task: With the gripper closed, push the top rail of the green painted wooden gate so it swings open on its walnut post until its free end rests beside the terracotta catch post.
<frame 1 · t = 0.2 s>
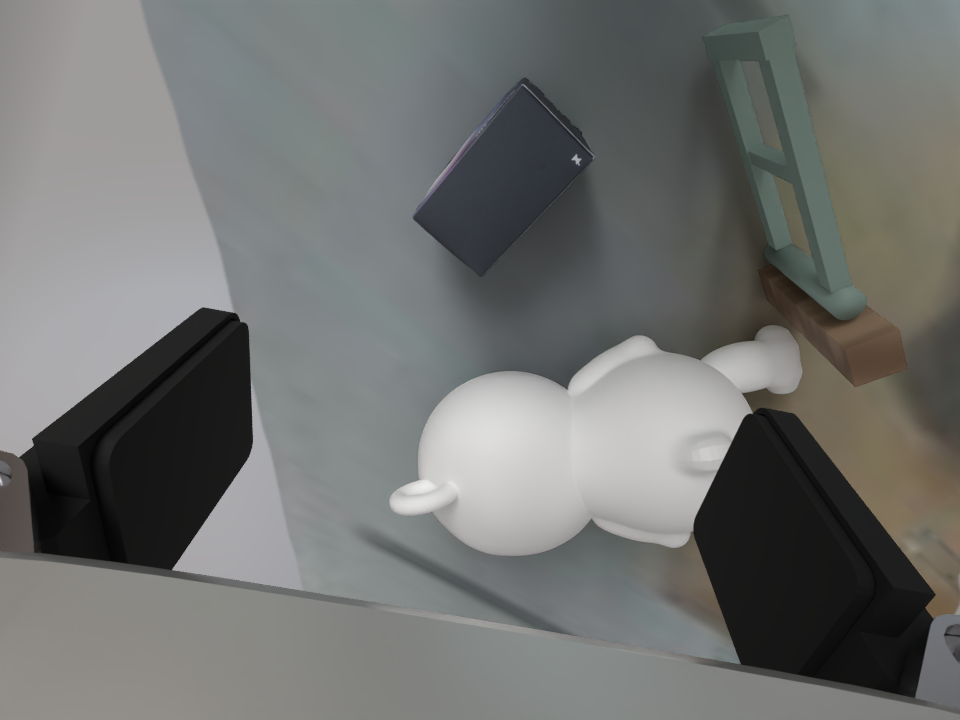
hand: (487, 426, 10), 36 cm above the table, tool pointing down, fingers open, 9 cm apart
teddy bear: (592, 401, 53), on the table
gate post: (781, 277, 46), on the table
gate: (779, 169, 36), point 6 cm above the table, hinge at 0.0°
small box: (505, 159, 43), on the table
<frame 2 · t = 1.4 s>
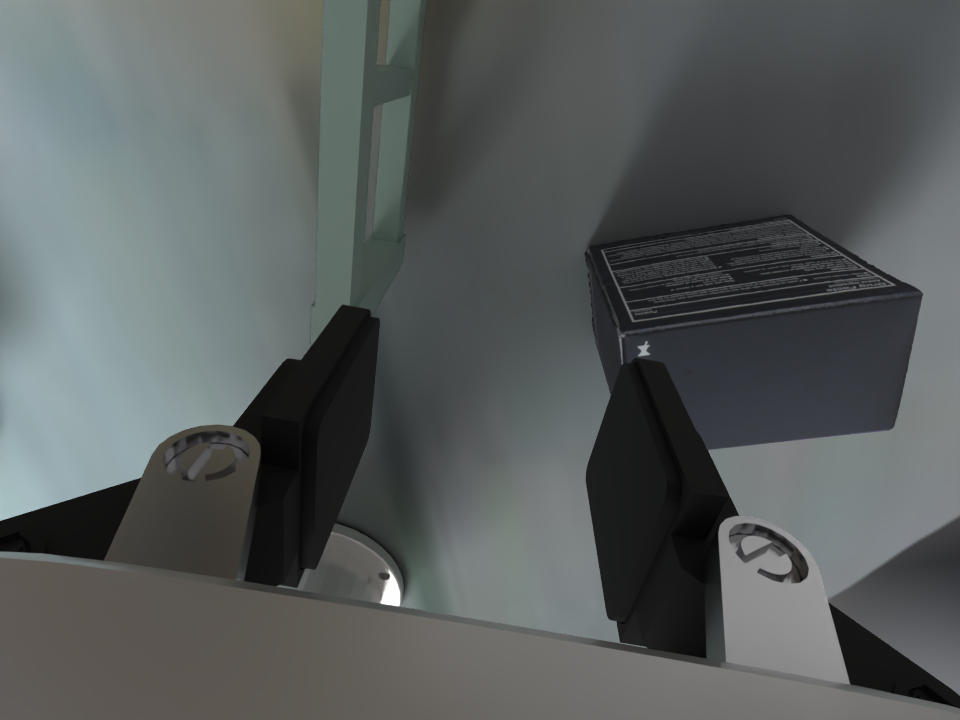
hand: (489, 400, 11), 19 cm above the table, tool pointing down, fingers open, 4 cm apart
gate: (381, 68, 20), point 7 cm above the table, hinge at 0.0°
small box: (686, 285, 30), on the table
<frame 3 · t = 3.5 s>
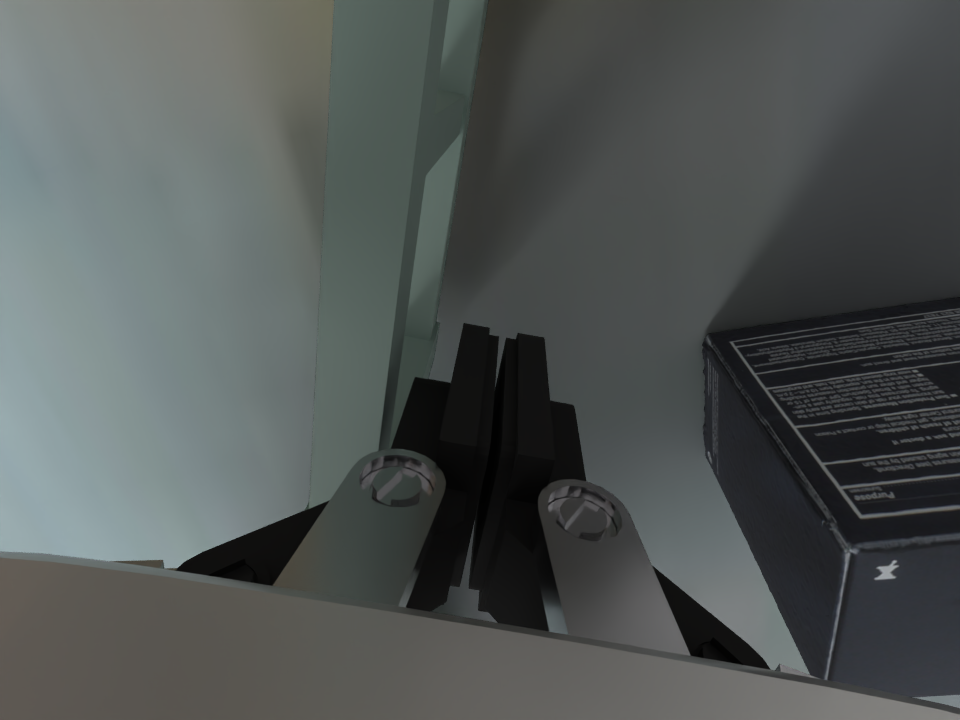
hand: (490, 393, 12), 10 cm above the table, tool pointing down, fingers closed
gate: (428, 99, 12), point 7 cm above the table, hinge at 1.8°, touching gripper
small box: (837, 381, 22), on the table
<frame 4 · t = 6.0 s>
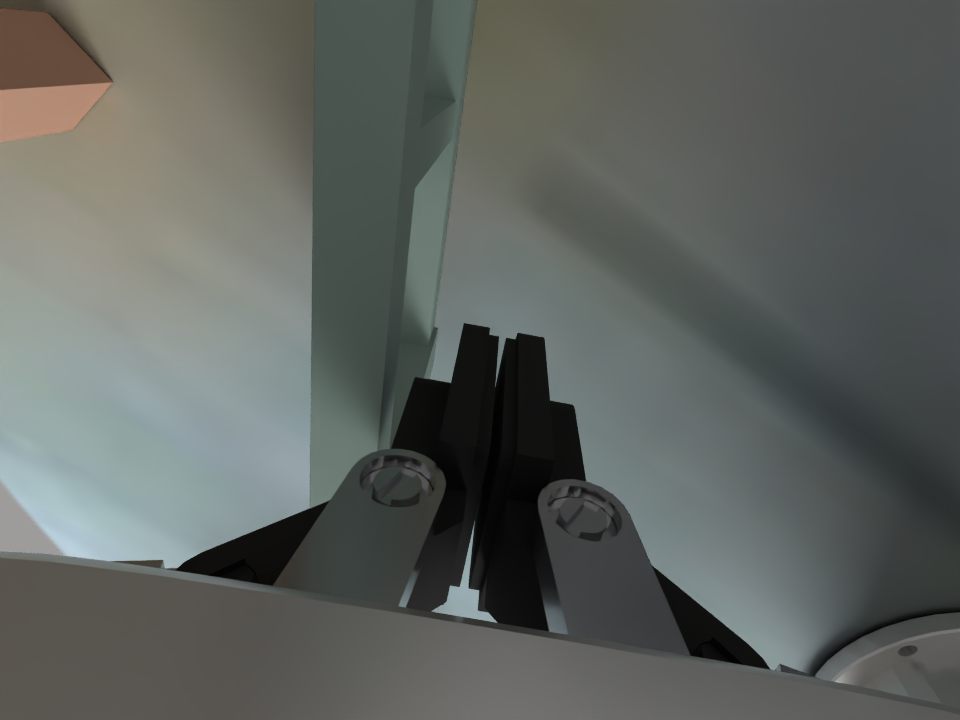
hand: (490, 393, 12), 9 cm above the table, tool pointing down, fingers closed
gate: (417, 109, 12), point 6 cm above the table, hinge at 46.2°, touching gripper
catch post: (60, 74, 18), on the table
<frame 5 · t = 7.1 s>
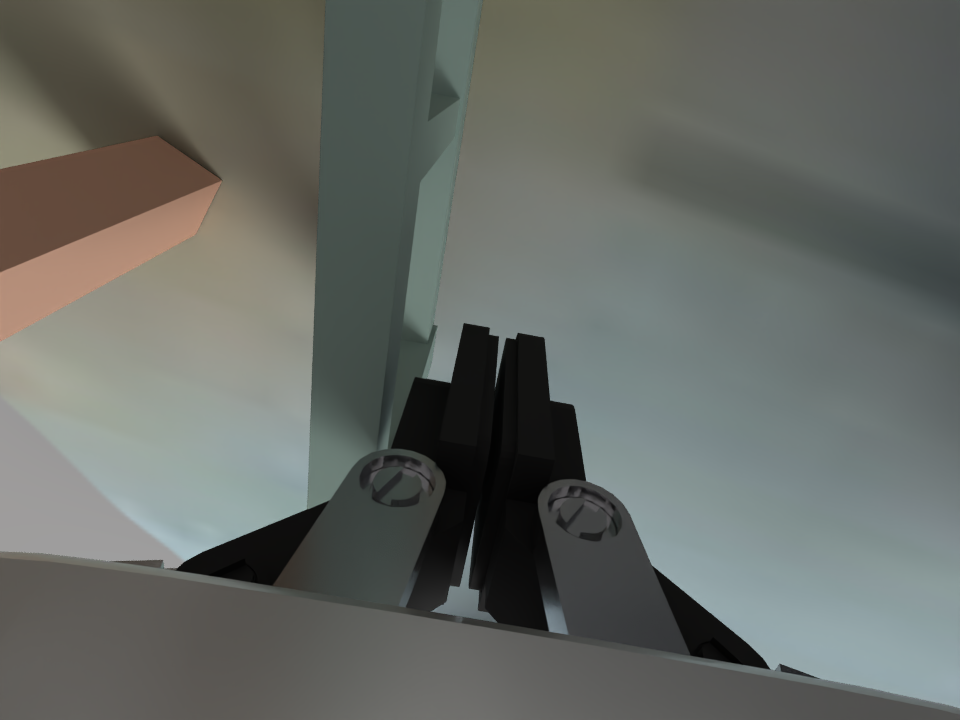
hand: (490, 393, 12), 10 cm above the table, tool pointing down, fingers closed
gate: (422, 104, 12), point 7 cm above the table, hinge at 63.4°, touching gripper
catch post: (177, 187, 19), on the table
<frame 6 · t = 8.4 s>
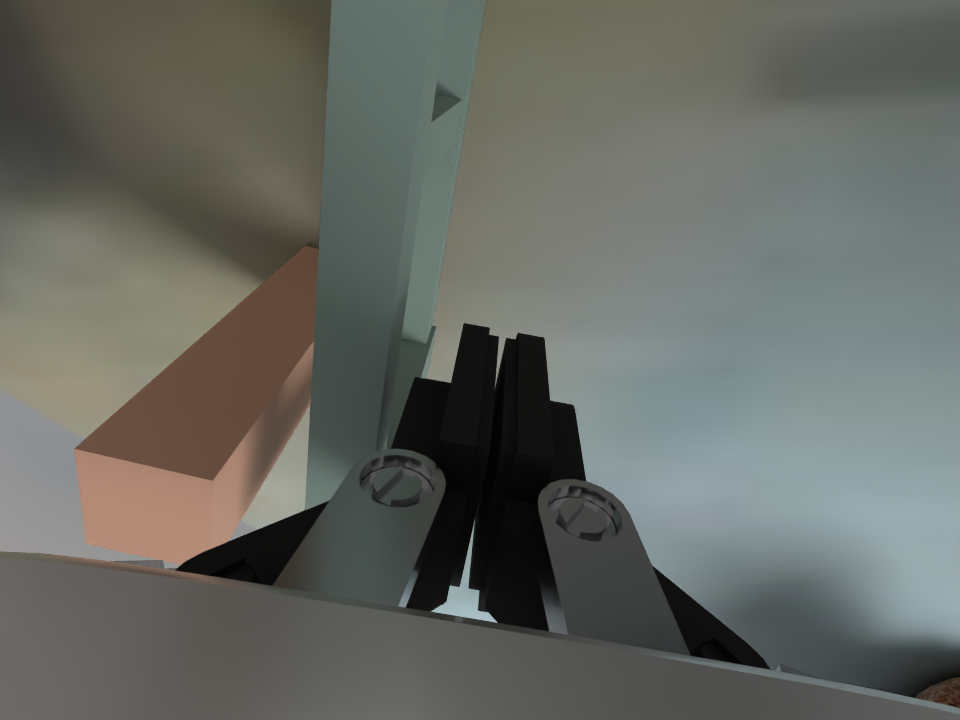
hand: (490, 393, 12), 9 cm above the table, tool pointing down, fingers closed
seed pod: (916, 715, 32), on the table
gate: (424, 105, 12), point 6 cm above the table, hinge at 86.4°, touching gripper
catch post: (334, 283, 21), on the table
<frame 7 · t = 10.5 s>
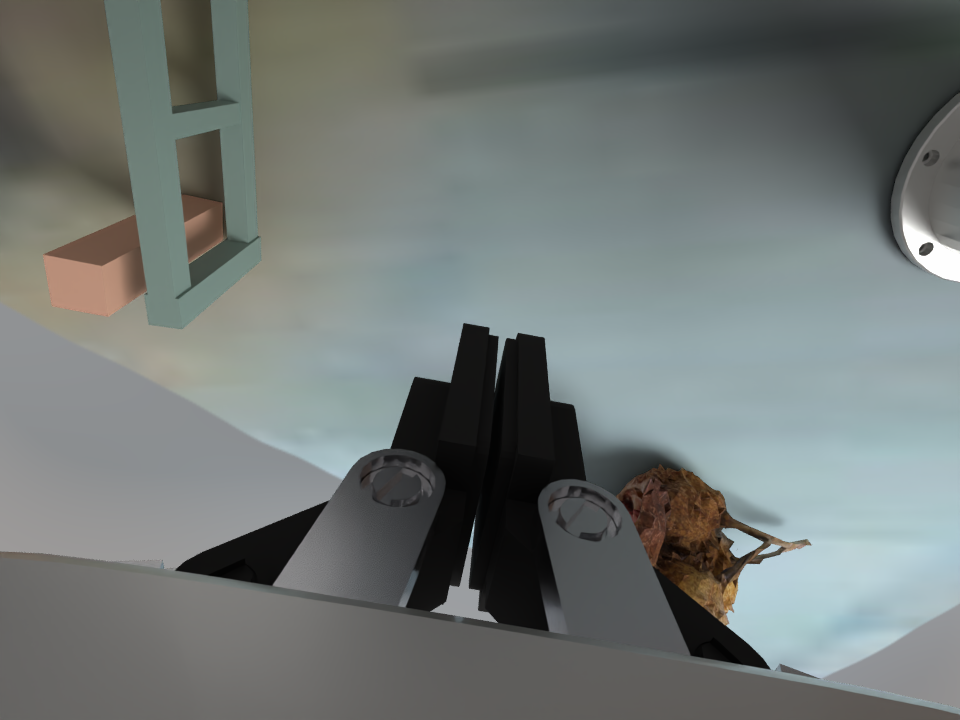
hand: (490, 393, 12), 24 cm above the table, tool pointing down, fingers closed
seed pod: (649, 511, 46), on the table
gate: (197, 106, 26), point 7 cm above the table, hinge at 86.6°
catch post: (203, 217, 35), on the table
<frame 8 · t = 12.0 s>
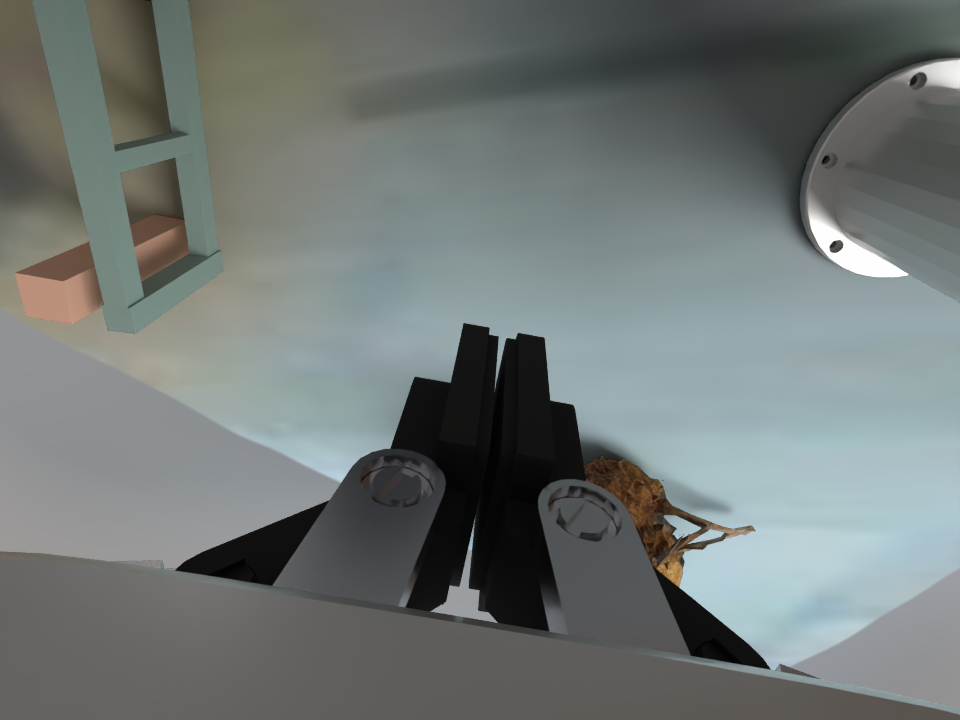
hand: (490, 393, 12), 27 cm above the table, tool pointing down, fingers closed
seed pod: (599, 501, 48), on the table
gate: (146, 141, 30), point 7 cm above the table, hinge at 86.6°
catch post: (173, 234, 39), on the table
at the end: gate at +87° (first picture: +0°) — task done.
